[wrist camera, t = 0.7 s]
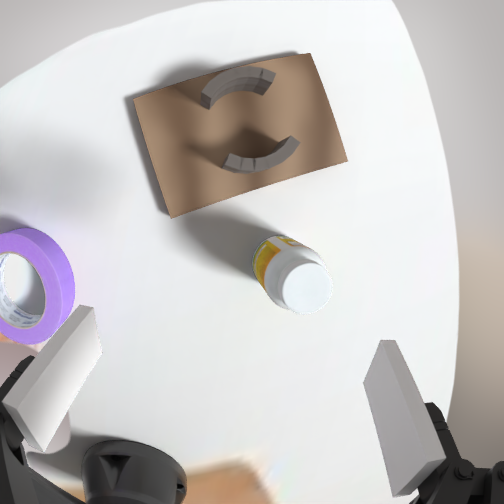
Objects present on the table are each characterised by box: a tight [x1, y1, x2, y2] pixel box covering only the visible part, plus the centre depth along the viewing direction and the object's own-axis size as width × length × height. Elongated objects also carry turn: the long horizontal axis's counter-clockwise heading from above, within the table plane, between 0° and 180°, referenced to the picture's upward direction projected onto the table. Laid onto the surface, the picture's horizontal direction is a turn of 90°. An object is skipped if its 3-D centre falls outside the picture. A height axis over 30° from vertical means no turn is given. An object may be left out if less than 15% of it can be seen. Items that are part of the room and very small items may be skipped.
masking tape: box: [0, 228, 75, 344], centre depth 27 cm, size 12×12×4 cm
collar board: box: [133, 53, 348, 219], centre depth 27 cm, size 18×12×6 cm, turn 108°
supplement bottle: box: [252, 236, 333, 315], centre depth 28 cm, size 5×5×10 cm
